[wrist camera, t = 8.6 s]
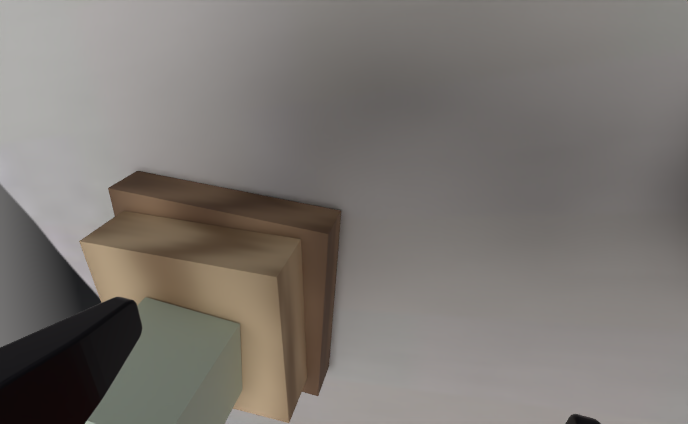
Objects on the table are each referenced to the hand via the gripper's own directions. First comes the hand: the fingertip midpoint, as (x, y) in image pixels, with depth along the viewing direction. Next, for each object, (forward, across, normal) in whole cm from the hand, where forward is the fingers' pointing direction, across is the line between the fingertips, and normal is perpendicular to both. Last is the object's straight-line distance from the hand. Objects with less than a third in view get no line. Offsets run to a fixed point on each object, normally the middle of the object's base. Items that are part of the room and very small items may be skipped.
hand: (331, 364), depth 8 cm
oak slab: (+10, +9, +10) cm, 17 cm away
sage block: (+7, +9, +10) cm, 15 cm away
